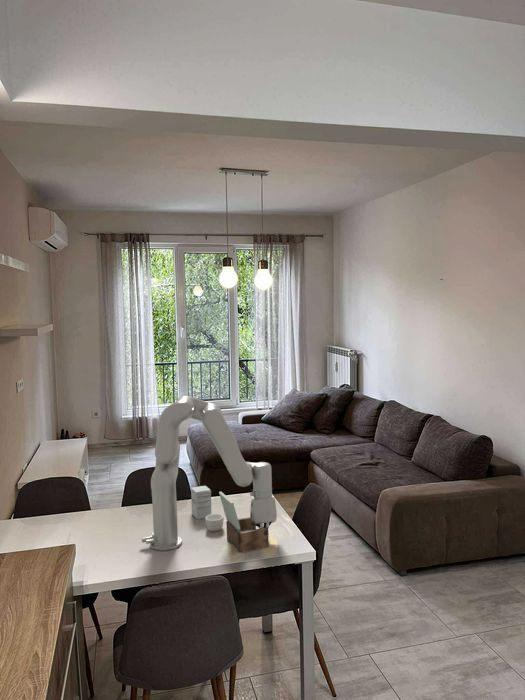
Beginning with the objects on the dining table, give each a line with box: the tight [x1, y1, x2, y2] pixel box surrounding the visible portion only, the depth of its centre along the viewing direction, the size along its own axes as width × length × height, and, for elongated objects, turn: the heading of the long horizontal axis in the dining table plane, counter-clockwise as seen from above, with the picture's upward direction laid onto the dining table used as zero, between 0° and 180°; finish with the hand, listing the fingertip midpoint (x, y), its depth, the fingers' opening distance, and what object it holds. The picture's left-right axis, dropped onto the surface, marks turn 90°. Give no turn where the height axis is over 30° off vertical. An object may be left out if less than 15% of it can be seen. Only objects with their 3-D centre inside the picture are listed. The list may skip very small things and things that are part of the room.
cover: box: [218, 491, 241, 533], centre depth 216 cm, size 12×14×1 cm
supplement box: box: [190, 485, 212, 520], centre depth 251 cm, size 7×7×13 cm
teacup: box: [204, 513, 225, 532], centre depth 236 cm, size 10×8×5 cm
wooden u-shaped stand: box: [225, 516, 270, 554], centre depth 220 cm, size 12×15×8 cm
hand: (263, 537), depth 223 cm, fingers closed
